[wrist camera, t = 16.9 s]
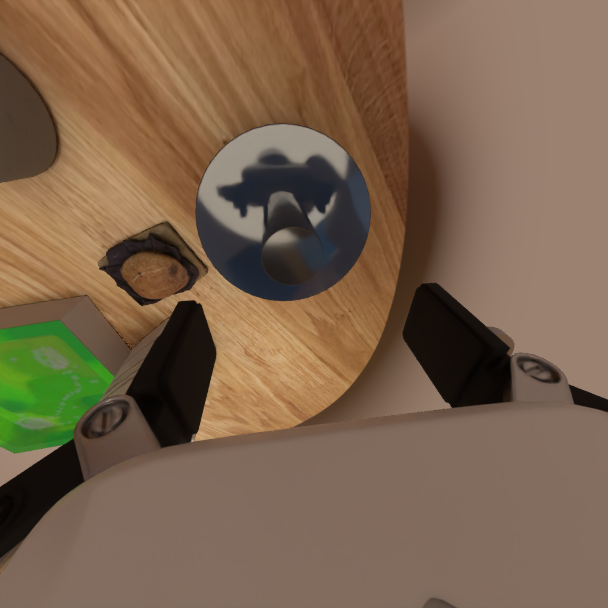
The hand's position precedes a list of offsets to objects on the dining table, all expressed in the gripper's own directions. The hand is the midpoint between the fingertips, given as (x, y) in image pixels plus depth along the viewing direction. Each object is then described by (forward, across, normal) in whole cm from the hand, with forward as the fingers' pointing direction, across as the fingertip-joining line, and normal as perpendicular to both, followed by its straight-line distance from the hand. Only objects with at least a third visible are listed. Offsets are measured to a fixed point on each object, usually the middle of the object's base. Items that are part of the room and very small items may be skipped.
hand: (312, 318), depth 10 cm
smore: (+21, +17, +6) cm, 27 cm away
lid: (+11, 0, 0) cm, 11 cm away
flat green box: (+21, +38, +24) cm, 49 cm away
